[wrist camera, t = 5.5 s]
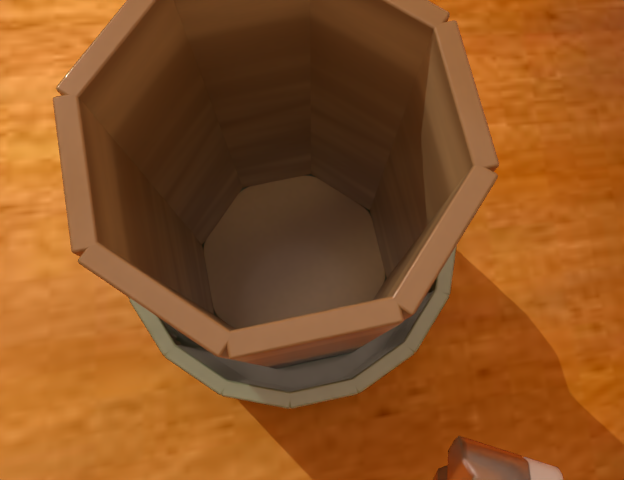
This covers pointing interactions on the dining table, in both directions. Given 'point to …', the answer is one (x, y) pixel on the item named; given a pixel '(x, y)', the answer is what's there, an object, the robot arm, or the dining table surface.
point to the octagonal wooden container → (273, 166)
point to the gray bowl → (310, 375)
